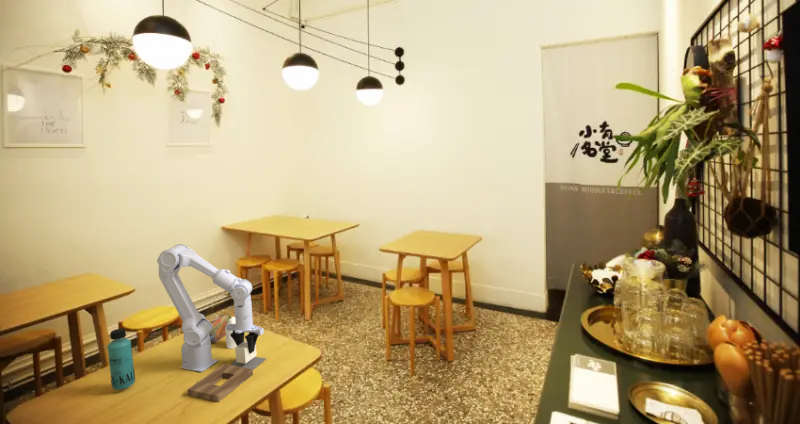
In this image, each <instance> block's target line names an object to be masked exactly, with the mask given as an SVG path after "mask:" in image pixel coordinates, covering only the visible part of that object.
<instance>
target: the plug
mask: <svg viewBox="0 0 800 424" xmlns="http://www.w3.org/2000/svg"><path fill="white" fill-rule="evenodd" d="M234 350H235V360H236V362H239V363H245V364H246V363H247V362H249V361H250V360H251V359H253V358H254V357H258V356H257V343H256V344H255V349H254V351H253V352H252V353H249V350H248V344H247V341H246V340H244V342H242V343H241V344H239V345H238V346H236V347H235V348H234Z"/></svg>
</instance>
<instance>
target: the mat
mask: <svg viewBox="0 0 800 424" xmlns="http://www.w3.org/2000/svg"><path fill="white" fill-rule="evenodd" d="M266 360H267V358H266V357H265V358H264V357H259V356H255V357H254V358H253V359H251V360H250V361H249V362H247V363H246V364H245V363H239V362H236V359H235V360H233V361H232V362H231V363H230V364H229V365H232V366H238V367H243V368H249V369H253V370H255V369H256V368H257V367H259V366H261V364H263V363H264V362H265V361H266Z"/></svg>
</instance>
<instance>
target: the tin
mask: <svg viewBox="0 0 800 424" xmlns="http://www.w3.org/2000/svg"><path fill="white" fill-rule="evenodd" d="M230 318H232V316H231V315H230V314H228V313H226V314H220V315H218V316H217V317H215V318H214V319H212V320H211V321H210V322H211V324H212V330H211V332H210V333H209V336H210V341H211V343H213V344H214V343H217V342H219V341H220V340H222V339H223V338H224V337H226V333H225V327H226V325H227V324H228V322H229V319H230Z"/></svg>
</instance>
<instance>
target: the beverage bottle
mask: <svg viewBox="0 0 800 424" xmlns="http://www.w3.org/2000/svg"><path fill="white" fill-rule="evenodd" d="M126 336H127V333H126V329H125V328H116V329H112V330H111V331H110V337H109V338H110V340H111V341H110V342H109V343H108V344H107V355H108V364H109V366H108V367H109V371H110V373H109V374H110V375H109V376H110V383H111V387H112V389H113V390H117V391H118V390H123V389H127V388H129V387H131V386H133V385H134V384H135V383H136V374H135V363H134V359H133V352H132V341H131V340H130V339H129V338H127V337H126Z"/></svg>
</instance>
